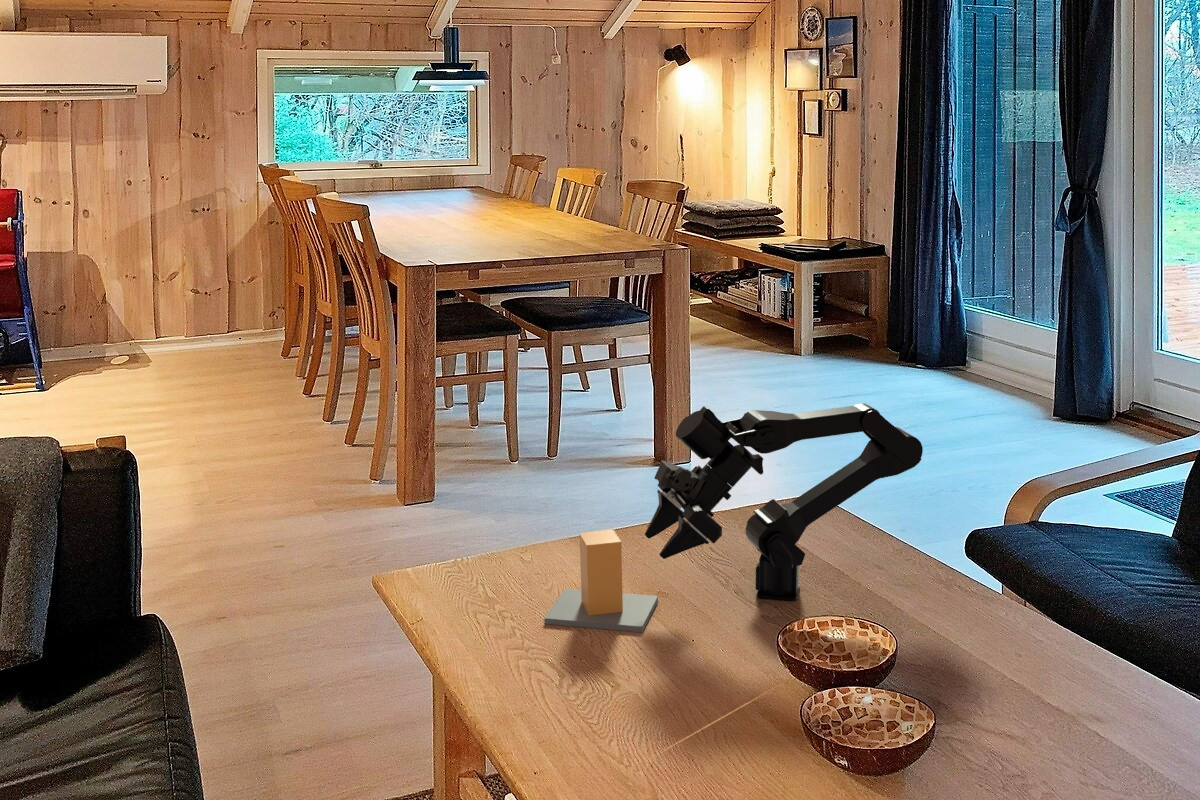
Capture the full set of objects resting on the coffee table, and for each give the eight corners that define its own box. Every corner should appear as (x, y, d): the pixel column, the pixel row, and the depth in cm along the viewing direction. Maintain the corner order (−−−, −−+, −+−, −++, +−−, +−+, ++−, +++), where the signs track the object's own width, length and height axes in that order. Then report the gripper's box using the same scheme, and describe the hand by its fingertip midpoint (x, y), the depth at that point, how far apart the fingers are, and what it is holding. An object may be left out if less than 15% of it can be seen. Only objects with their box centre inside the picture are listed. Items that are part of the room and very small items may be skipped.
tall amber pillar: (614, 597, 213) (613, 529, 210) (622, 611, 208) (621, 541, 205) (581, 601, 212) (579, 533, 209) (588, 615, 207) (586, 545, 204)
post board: (657, 601, 214) (657, 576, 213) (642, 632, 203) (641, 605, 201) (564, 594, 218) (564, 569, 217) (544, 623, 207) (543, 597, 205)
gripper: (669, 429, 215) (605, 498, 215) (702, 462, 197) (633, 537, 198) (714, 470, 219) (652, 537, 219) (751, 506, 201) (683, 579, 202)
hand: (653, 546), depth 209 cm, fingers open, 9 cm apart
